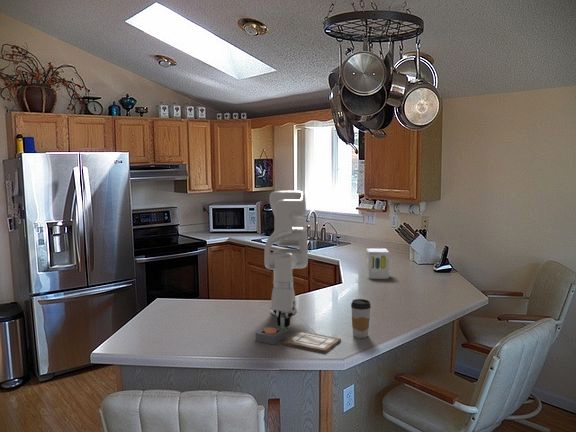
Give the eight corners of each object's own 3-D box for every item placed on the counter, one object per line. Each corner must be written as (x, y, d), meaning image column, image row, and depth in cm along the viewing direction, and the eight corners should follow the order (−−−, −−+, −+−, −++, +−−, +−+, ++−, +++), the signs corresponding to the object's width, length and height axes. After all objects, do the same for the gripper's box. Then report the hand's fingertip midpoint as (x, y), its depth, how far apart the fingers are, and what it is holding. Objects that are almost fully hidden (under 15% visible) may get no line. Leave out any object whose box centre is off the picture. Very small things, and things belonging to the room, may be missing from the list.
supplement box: (367, 278, 314) (368, 251, 313) (365, 274, 328) (365, 248, 326) (388, 278, 314) (389, 251, 312) (385, 274, 327) (386, 248, 325)
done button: (268, 331, 210) (268, 326, 210) (278, 333, 207) (278, 328, 207) (262, 335, 205) (262, 330, 205) (272, 337, 203) (272, 332, 203)
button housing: (267, 334, 213) (267, 326, 212) (285, 337, 208) (285, 330, 208) (255, 340, 205) (255, 332, 205) (274, 344, 201) (274, 336, 200)
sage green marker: (282, 329, 218) (282, 312, 217) (288, 331, 217) (288, 313, 216) (278, 331, 216) (278, 314, 215) (284, 333, 214) (285, 315, 213)
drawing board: (300, 333, 214) (300, 330, 214) (340, 341, 204) (340, 338, 204) (282, 344, 201) (282, 341, 201) (325, 353, 191) (325, 350, 191)
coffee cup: (368, 332, 216) (368, 298, 214) (371, 338, 207) (372, 304, 206) (349, 332, 215) (349, 298, 214) (352, 339, 207) (352, 304, 205)
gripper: (263, 284, 215) (263, 325, 217) (296, 288, 207) (295, 331, 209) (272, 280, 221) (272, 320, 223) (304, 285, 213) (304, 326, 215)
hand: (283, 325), depth 216 cm, fingers closed on sage green marker, 3 cm apart
